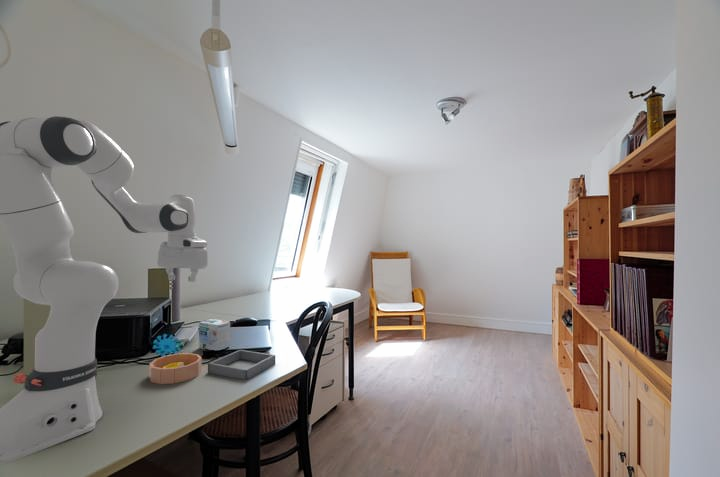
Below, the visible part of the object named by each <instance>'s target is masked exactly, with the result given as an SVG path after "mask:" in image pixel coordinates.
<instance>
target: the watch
mask: <svg viewBox="0 0 720 477" xmlns="http://www.w3.org/2000/svg"><path fill="white" fill-rule="evenodd" d="M181 366H184V363H183V362H177V363H172V364H169V365H167V366H164V367H163V368H176V367H181Z"/></svg>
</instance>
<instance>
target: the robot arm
mask: <svg viewBox="0 0 720 477" xmlns="http://www.w3.org/2000/svg"><path fill="white" fill-rule="evenodd" d="M66 166H77V168H79V169H80V170H81V172H83V173H84V174H85V175H86V176H88V178H89V179H90V180H91V183H92V186H93V187H94V189H95V190H96V192H97V193H98V194H99V195H100V196H101V197H102V198H103V200H104V201H106V202H107V204H108V205H109V206H111V208H112V209H113V210H114V211H115V212H116V213H117V214H118V216H119V217H120V219H121V220H122V222H123V224H124V225H125V227H126V228H127V229H128V230H129V231H130V232H132V233H134V234H144V233H146V234H147V233H167V241H163V242H162V243H161V244H160V245H159V249H158V254H157V265H158V267H159V268H165V272H166V274H167V276H168V281H176V274H174V269H189V270H190V271H189V272H190V275H189V276H188V277H187V278H188V280H187V281H188V282H190V283H194V282H196V277H197V275H198V273H199V270H202V269H206V268H207V267H208V258H209V257H208V251H207V248H206V247H207V246H208V241H206V240H205V239H203V238H200V237H198V236H197V232H196V228H195V227H196V222H197V219H196V218H197V216H196V214H197V213H196V212H197V211H196V204H195V201H194V199H193V198H191V197H189V196H187V195H182V194H174V195H170V197H169V198H168V199H167V200H165V201H161V202H157V203H156V202H153V203H152V202H151V203H148V202H147V203H146V202H145V203H144V202H139V201H137V200H135V199H133V197H132V196H131V195H130V194H129V192H128V191H127V190H126V189H125V188H124V187H125V186H126V185H127V184H128V183H129V182H130V181H131V179H132V178H133V175H134V171H135V167H134V162H133V161H132V158H131V157H130V156H129V155H128V153H127V152H125V150H124V149H122V147H120V145H119V144H118V143H116V141H115V140H113V138H112V137H110V136H109V135H108V134H107V133H106V132H104V131H103V130H102V129H100V128H99V127H98V126H96V125H95V124H93V123H92V122H90V121H89V120H84V119H76V118H72V117H68V116H58V115H57V116H51V117H26V118H21V119H17V120H12V121H10V120H9V121H4V122H0V224H1V226H2V229H3V230H4V232H5V234H6V237H7V239H8V240H9V242H10V244H11V247H12V250H13V252H14V253H13V254H14V257H15V259H14V260H15V265H16V273H15V275H14V278H13V281H12V282H13V288H14V291H15V293H16V294H17V295H18V296H19V297H20V298H22V299H24V300H27V301H29V302H31V303H33V304H36V305H44V306H50V310H49V314H48V317H47V319H46V321H45V324H44V326H43V328H41V329H40V330H38V331H37V332H36V335H35V338H34V367H33V369H32V371H31V372H29V374H25V373H22V372H20V373H17V374H15V375H14V376H13V378H12V381H13V382H14V383H16V384H20V385H23V384H24V388H23V389H22V390H21V391H20V392H18V393H17V394H16V395H14V397H13V398H11V399H10V400H9V401H8V402H7V403H6V404H5V405H3V406H2V407H1V408H0V464H8V463H11V462H13V461H14V462H15V461H16V460H19V459H22V458H24V457H26V456H29V455H32V454H34V453H37V452H40V451H42V450H45V449H47V448H50V447H52V446H54V445H57V444H60V443H62V442H66V441H68V440H70V439H73V438H76V437H78V436H81V435H83V434H85V433H89V432H91V431H93V430H94V429H95V428H96V423H98V421H99V420H100V419H101V418H102V416H103V414H104V413H103V410H102V407H101V405H100V401H99V396H98V391H97V384H96V379H97V374H98V360H97V358H96V333H97V332H96V331H97V328H98V327H97V326H98V322H99V319H100V316H101V314H102V311H103V310H104V308H105V306H106V305H107V304H108V303H109V302H110V301H111V300H112V299H114V297H115V296H116V294H117V292H118V289H119V286H120V285H119V277H118V275H117V273H116V271H115V269H114V270H113V269H112V268H111V267H110V266H107V265H104V264H101V263H98V262H94V261H90V260H87V261H86V260H75V259H74V258H73V257H72V254H71V246H70V243H71V242H70V241H71V239H72V238H73V236H74V234H75V228H74V226H73V223H72V222H71V219H70V217H69V215H68V212H67V210H66V208H65V205H64V203H63V200H62V199H61V196H60V194H59V192H58V191H57V188H56V187H55V185H54V183H53V181H52V171H53V169H56V168H57V169H58V168H62V167H66Z"/></svg>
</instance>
